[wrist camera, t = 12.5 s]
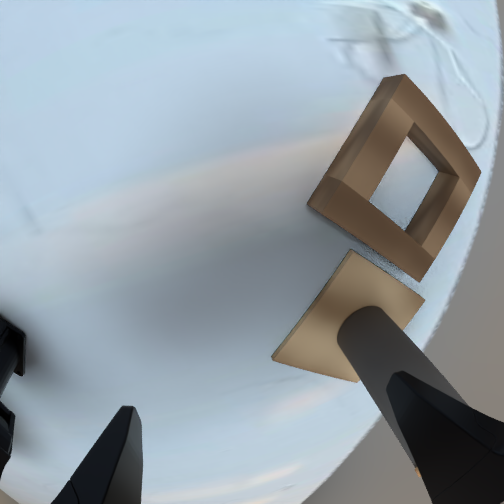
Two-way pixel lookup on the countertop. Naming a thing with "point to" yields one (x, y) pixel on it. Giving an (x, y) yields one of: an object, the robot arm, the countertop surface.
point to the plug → (386, 360)
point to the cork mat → (344, 316)
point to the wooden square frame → (376, 164)
